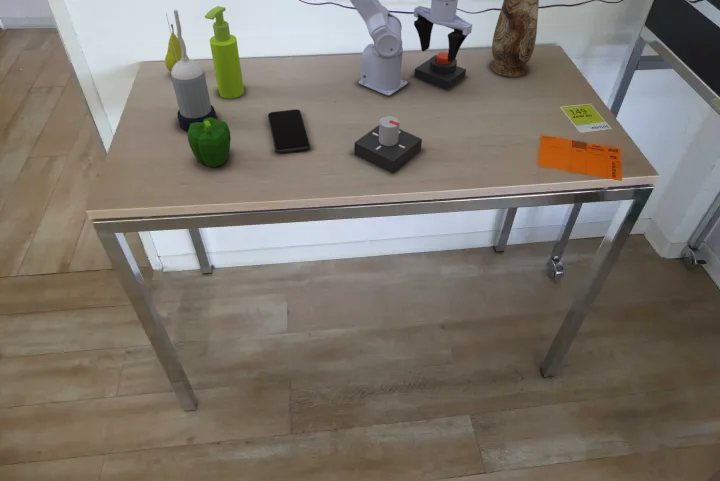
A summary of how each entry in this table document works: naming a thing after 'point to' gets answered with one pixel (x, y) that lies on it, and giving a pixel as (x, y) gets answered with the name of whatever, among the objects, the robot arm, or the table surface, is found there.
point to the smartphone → (288, 131)
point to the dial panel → (387, 149)
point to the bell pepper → (210, 141)
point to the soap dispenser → (225, 56)
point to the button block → (440, 73)
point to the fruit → (170, 56)
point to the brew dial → (389, 131)
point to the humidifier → (190, 87)
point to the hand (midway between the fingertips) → (438, 54)
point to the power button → (442, 58)
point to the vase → (514, 36)
